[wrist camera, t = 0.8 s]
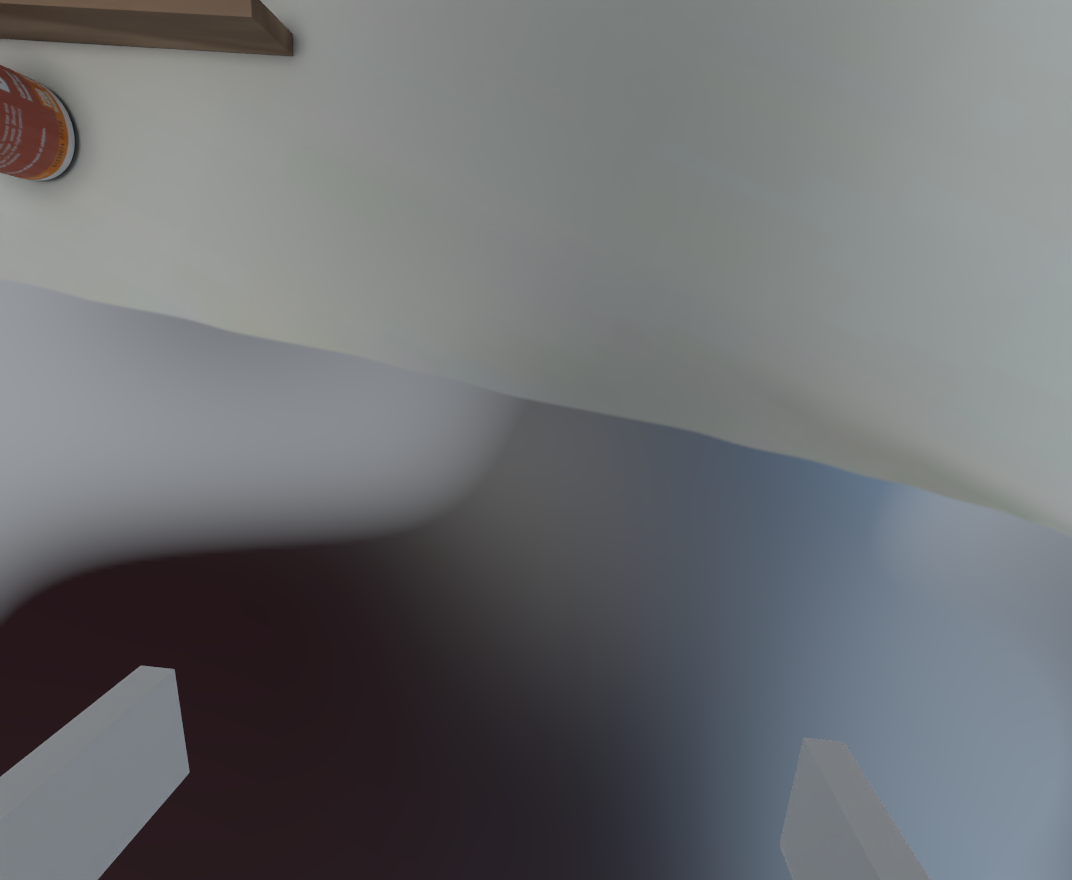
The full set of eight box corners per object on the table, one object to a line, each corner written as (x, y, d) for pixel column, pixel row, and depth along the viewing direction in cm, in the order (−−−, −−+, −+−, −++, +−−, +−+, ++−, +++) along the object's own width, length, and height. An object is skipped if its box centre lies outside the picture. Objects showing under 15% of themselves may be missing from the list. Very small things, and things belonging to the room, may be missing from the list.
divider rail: (-38, 14, 32) (-124, -29, 28) (292, 33, 30) (250, -9, 27) (-35, 36, 32) (-119, -4, 28) (292, 55, 31) (251, 17, 27)
